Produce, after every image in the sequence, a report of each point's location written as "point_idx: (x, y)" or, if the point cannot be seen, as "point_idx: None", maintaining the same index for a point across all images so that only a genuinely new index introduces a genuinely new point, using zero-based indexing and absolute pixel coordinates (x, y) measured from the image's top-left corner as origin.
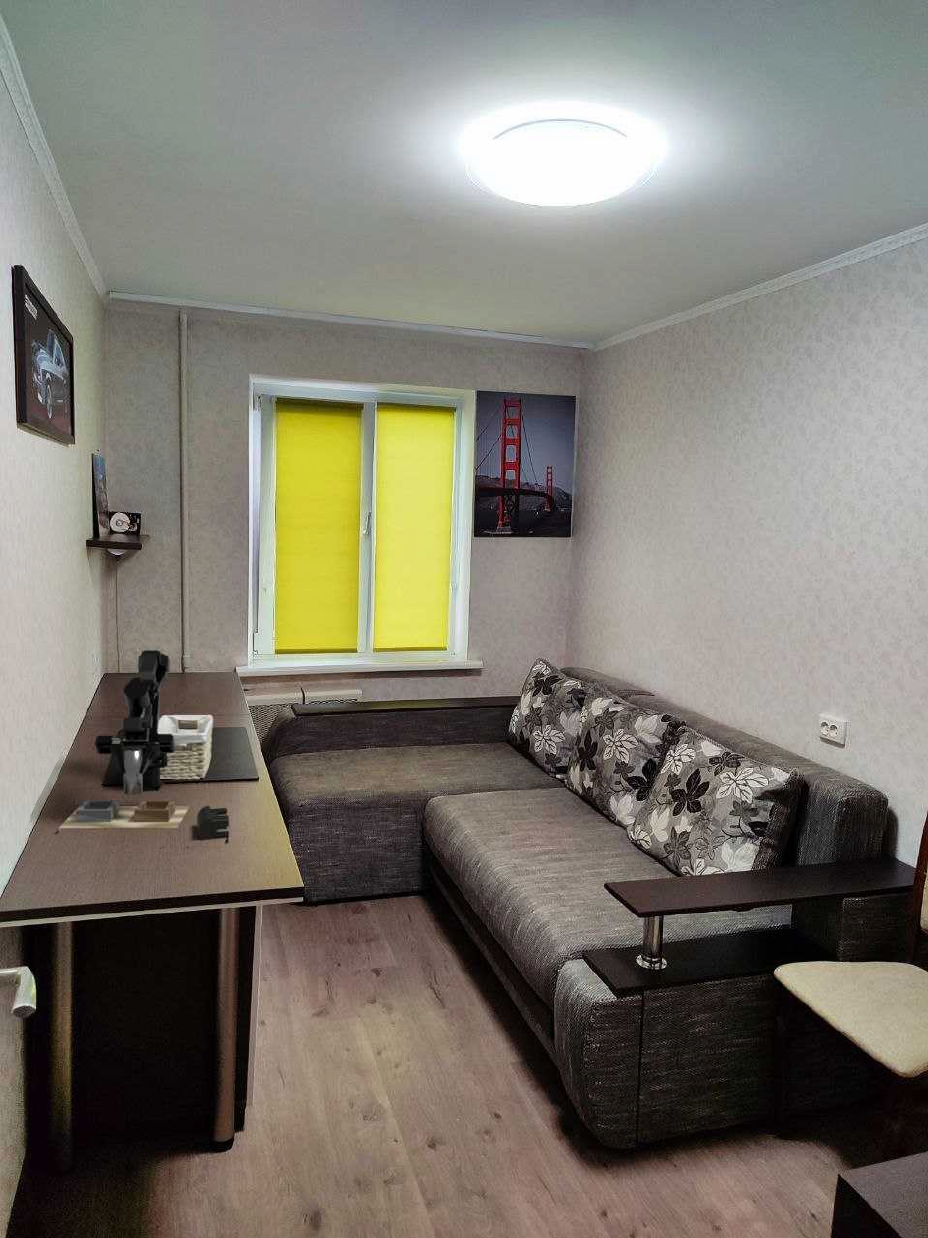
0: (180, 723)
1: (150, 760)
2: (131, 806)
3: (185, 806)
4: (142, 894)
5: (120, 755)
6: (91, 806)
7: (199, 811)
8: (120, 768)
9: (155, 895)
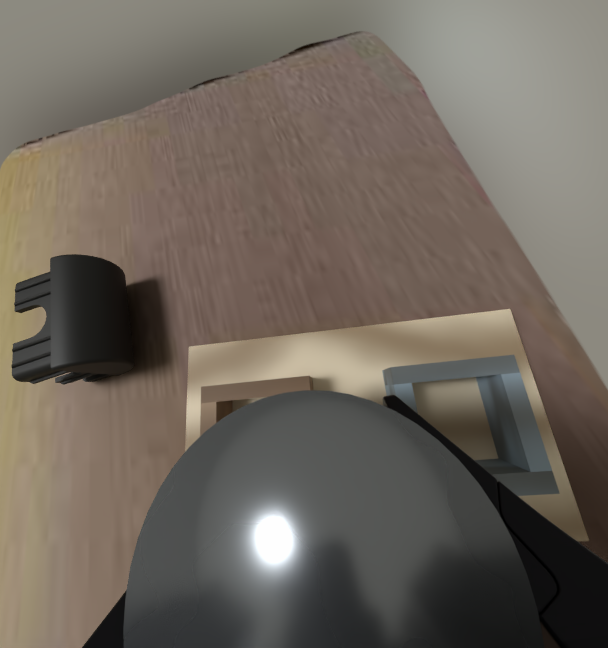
0: None
1: None
2: None
3: None
4: (204, 97)
5: (531, 557)
6: (508, 466)
7: (96, 354)
8: (414, 412)
9: (185, 98)
